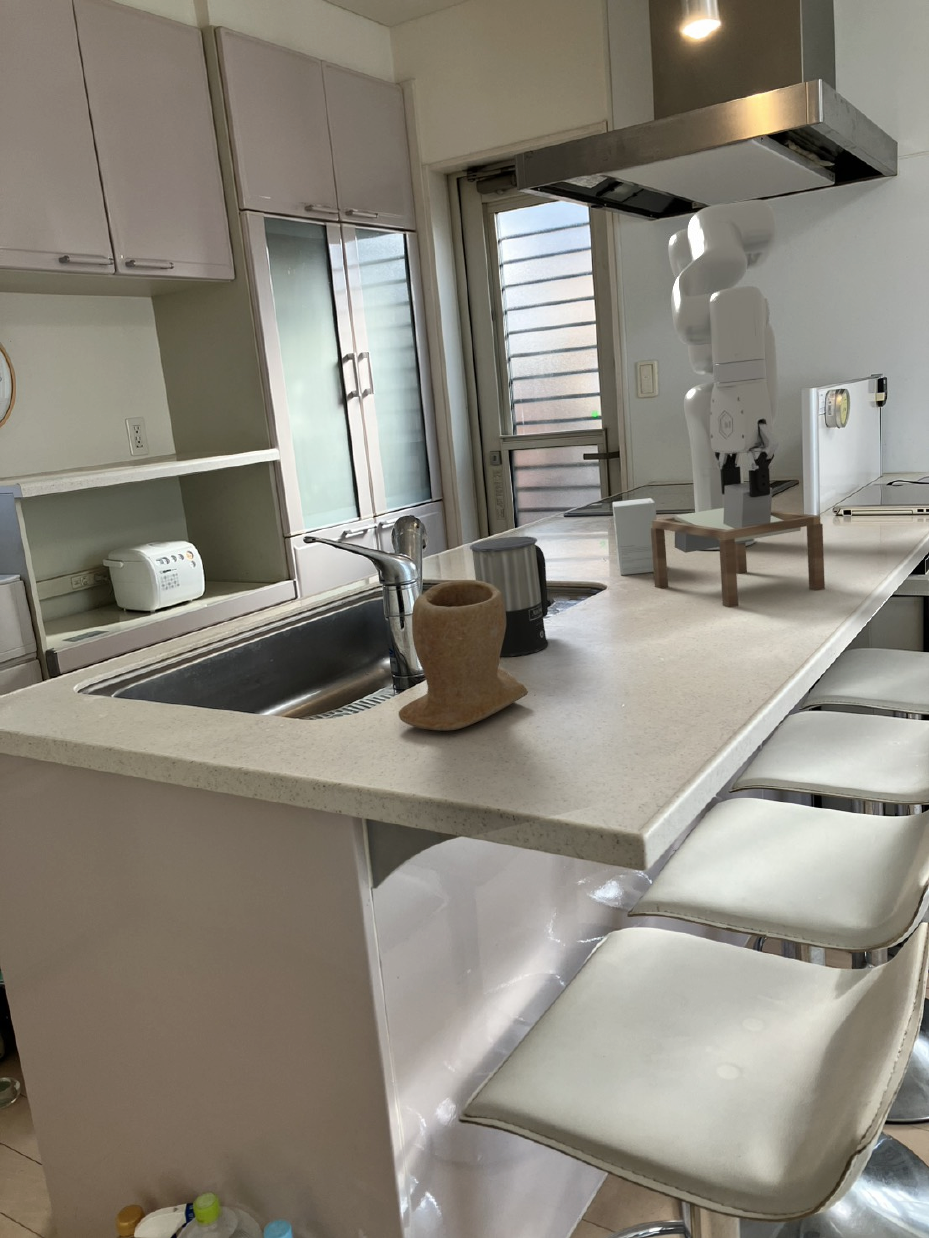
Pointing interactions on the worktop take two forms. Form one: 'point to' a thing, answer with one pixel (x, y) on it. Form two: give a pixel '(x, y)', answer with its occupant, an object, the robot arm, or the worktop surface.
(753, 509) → the grey near-cubic block
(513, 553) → the milk frother
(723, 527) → the trapdoor
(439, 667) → the stone cup
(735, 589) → the frame
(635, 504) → the supplement box
